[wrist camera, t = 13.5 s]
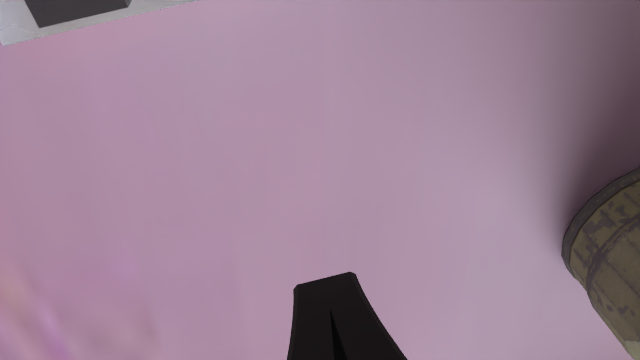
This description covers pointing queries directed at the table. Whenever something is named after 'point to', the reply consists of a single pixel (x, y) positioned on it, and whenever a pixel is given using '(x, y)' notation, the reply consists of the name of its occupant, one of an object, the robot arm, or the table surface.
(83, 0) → the panel
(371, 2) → the table surface
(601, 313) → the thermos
